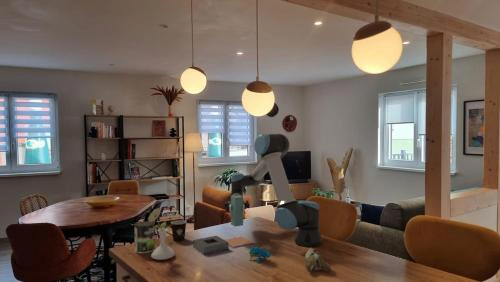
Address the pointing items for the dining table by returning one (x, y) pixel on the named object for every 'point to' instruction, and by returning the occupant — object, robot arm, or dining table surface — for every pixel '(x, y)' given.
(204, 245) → the socket block
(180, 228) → the coffee mug
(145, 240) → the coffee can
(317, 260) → the ceramic sculpture
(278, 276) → the dining table surface
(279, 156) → the robot arm
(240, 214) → the peg
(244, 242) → the mat
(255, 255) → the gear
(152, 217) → the flower in vase
